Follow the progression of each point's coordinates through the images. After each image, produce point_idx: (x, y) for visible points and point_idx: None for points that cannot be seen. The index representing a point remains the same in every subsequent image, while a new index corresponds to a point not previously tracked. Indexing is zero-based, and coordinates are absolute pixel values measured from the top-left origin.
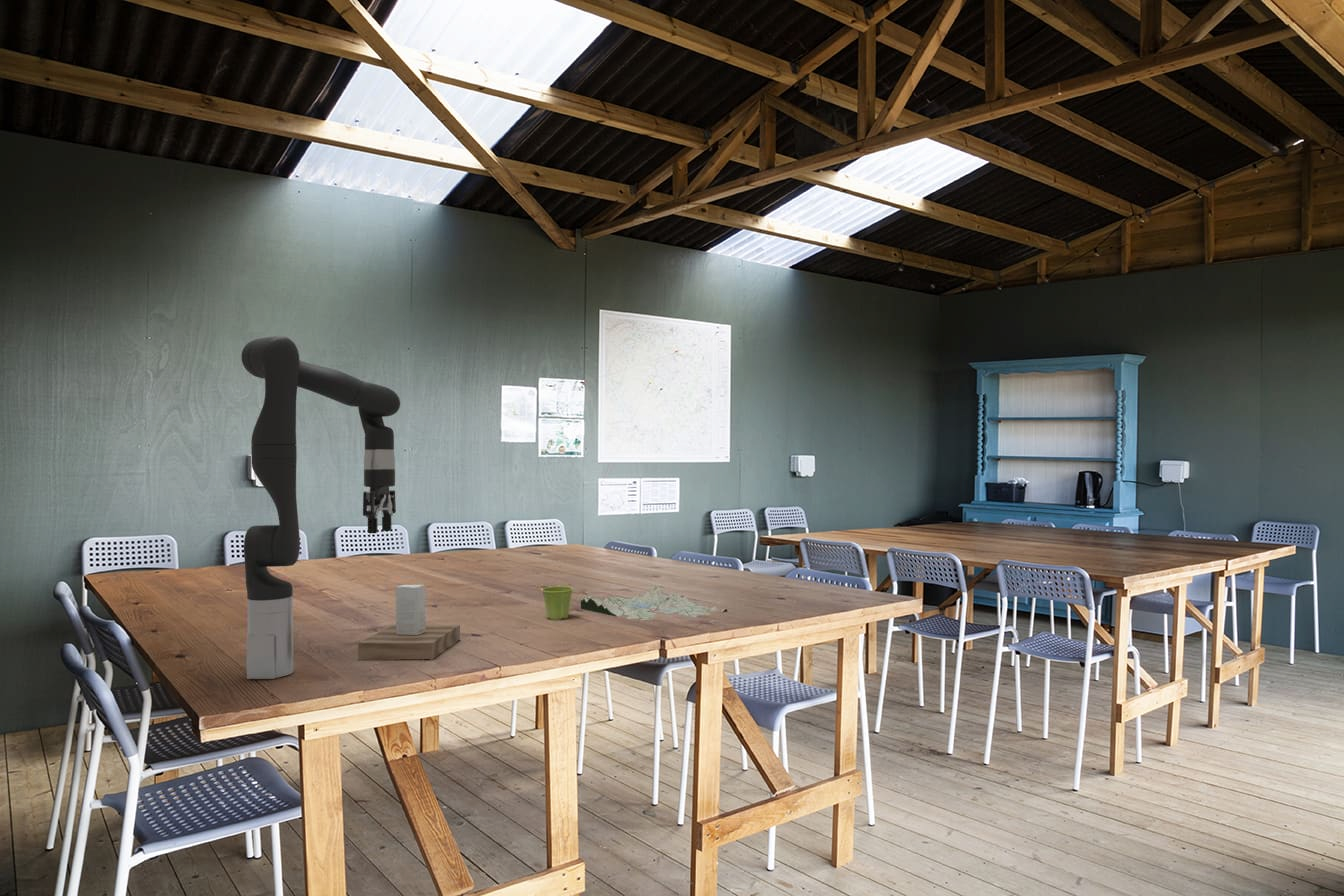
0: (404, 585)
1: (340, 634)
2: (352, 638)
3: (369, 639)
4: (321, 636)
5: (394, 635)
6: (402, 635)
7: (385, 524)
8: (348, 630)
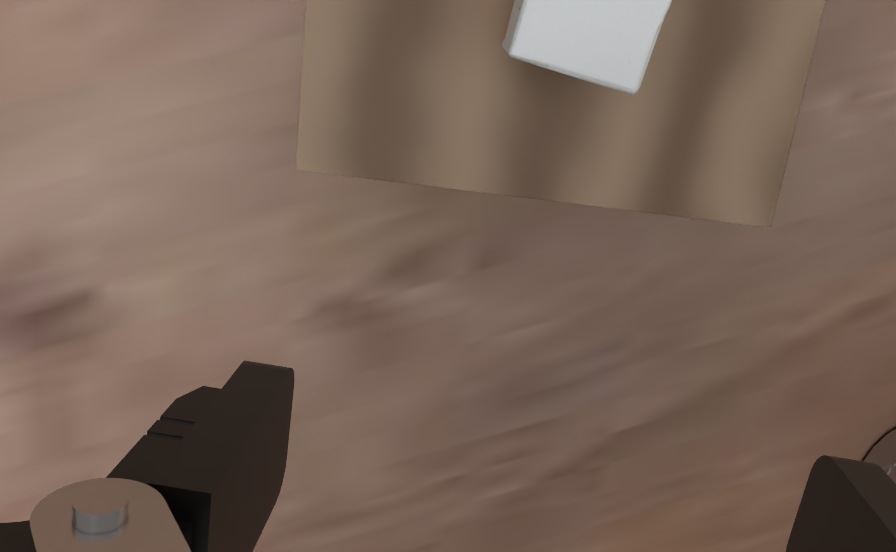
0: (580, 31)
1: None
2: None
3: (690, 191)
4: None
5: None
6: None
7: (258, 495)
8: (68, 432)
